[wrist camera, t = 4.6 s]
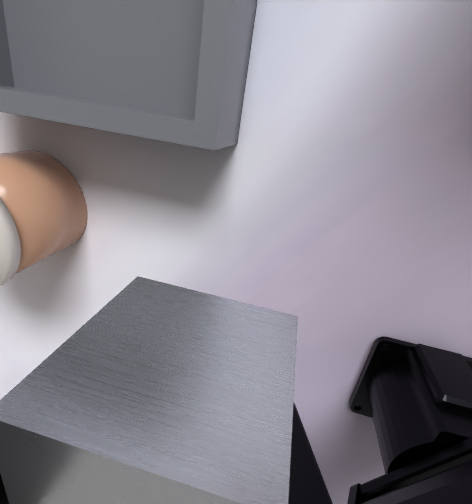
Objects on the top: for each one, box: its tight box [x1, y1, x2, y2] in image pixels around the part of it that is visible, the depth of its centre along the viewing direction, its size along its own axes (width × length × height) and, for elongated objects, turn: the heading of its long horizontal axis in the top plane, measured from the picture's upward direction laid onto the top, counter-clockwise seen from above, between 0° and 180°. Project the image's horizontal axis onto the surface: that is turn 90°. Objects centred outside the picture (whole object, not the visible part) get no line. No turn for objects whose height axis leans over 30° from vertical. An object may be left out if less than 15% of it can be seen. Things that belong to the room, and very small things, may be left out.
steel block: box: [0, 277, 298, 504], centre depth 8 cm, size 5×5×5 cm
